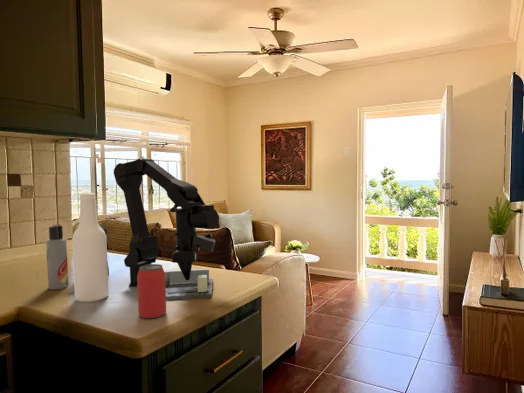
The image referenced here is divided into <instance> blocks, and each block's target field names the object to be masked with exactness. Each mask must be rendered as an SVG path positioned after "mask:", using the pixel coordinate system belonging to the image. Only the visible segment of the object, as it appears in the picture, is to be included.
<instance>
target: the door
mask: <svg viewBox="0 0 524 393" xmlns="http://www.w3.org/2000/svg"><path fill="white" fill-rule="evenodd" d="M164 273H165V284H170V283H188V282H198V281H197V278H198V275H207V281H209V279H210V269H209V268H200V269H199V268H197V269H194V268H193V269H191V274H190V279H189V280H185V278H184V275H183V273H182V271H181V269H177V270H166V271H165V270H164Z"/></svg>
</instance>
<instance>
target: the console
mask: <svg viewBox="0 0 524 393" xmlns="http://www.w3.org/2000/svg"><path fill="white" fill-rule="evenodd" d="M213 283H214V282H213V279H212V278H209V281H207V292H198V282H188V283H170V284H165V291H166V301H174V300H175V301H177V300H178V301H179V300H192V299H193V300H194V299H209V298H212V294H213V285H214V284H213Z"/></svg>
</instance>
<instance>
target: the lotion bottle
mask: <svg viewBox="0 0 524 393" xmlns="http://www.w3.org/2000/svg"><path fill="white" fill-rule="evenodd" d="M63 231H64V230H63V225H62V224H61V223H60V224H59V223H58V224H57V223H56V224H53V225H49V226H48V240H46V241H45V248H46V268H47V269H46V270H47V283H48V284H47V285H48V289H50V290H60V289H65V288H68V286H69V270H68V269H69V268H68V267H69V266H68V265H69V264H68V250H67V249H68V247H67V244H68V243H67V239H66V238H64V233H63Z"/></svg>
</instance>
